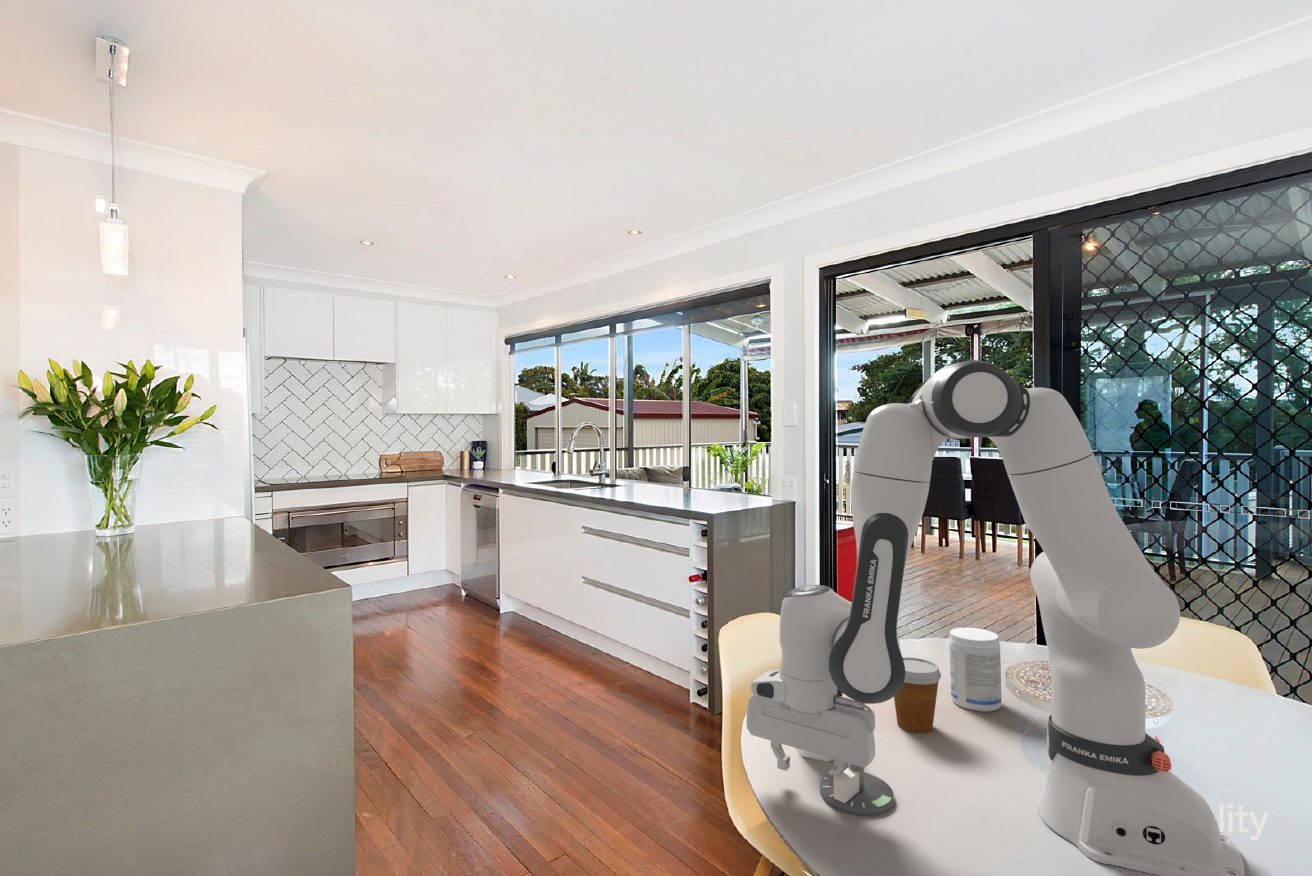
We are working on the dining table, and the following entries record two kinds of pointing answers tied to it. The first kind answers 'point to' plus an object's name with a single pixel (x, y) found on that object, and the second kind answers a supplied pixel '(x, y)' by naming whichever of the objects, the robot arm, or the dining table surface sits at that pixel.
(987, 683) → the supplement tub
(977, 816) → the dining table surface
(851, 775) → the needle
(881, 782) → the dial
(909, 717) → the disposable coffee cup
